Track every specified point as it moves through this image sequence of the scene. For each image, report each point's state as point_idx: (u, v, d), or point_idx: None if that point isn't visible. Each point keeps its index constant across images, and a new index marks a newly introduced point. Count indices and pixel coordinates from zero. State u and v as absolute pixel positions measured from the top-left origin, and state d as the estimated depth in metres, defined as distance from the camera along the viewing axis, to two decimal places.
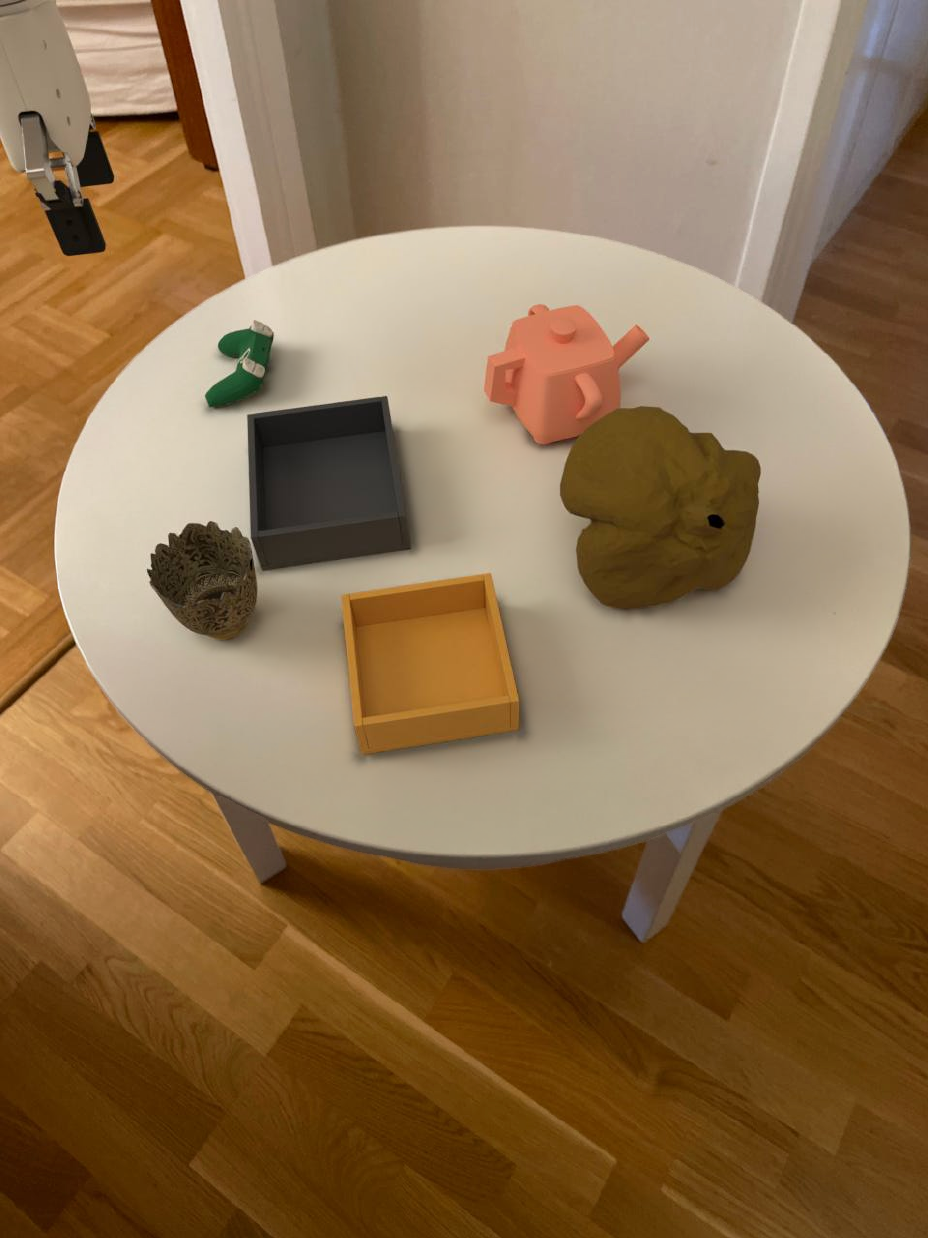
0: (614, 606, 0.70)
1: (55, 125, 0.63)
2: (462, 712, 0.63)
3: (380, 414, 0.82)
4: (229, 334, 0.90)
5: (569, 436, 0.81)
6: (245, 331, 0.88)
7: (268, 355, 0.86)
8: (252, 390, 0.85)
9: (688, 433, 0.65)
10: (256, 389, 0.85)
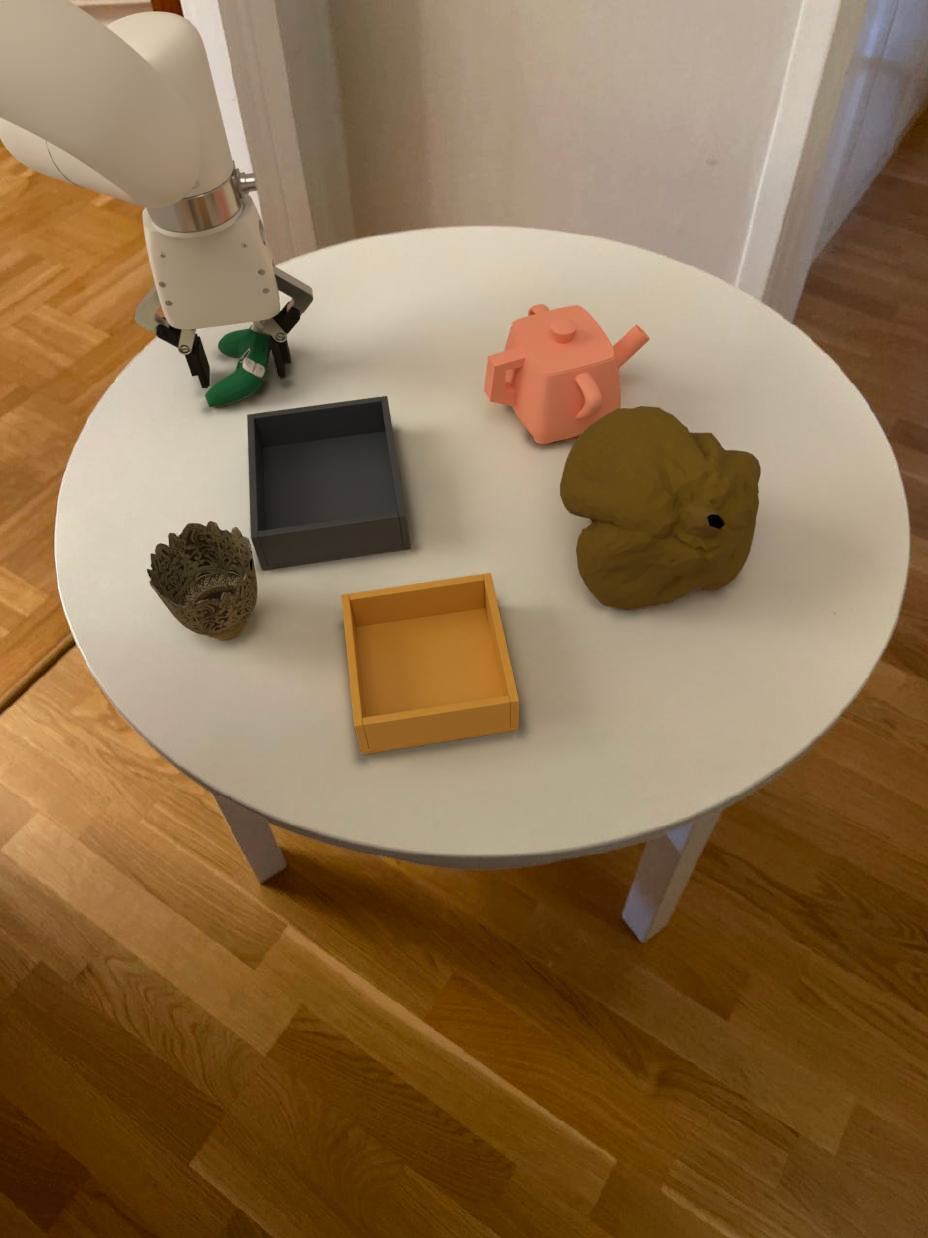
0: (614, 606, 0.70)
1: (158, 297, 0.79)
2: (462, 712, 0.63)
3: (380, 414, 0.82)
4: (229, 334, 0.90)
5: (569, 436, 0.81)
6: (245, 331, 0.88)
7: (268, 355, 0.86)
8: (252, 390, 0.85)
9: (688, 433, 0.65)
10: (256, 389, 0.85)
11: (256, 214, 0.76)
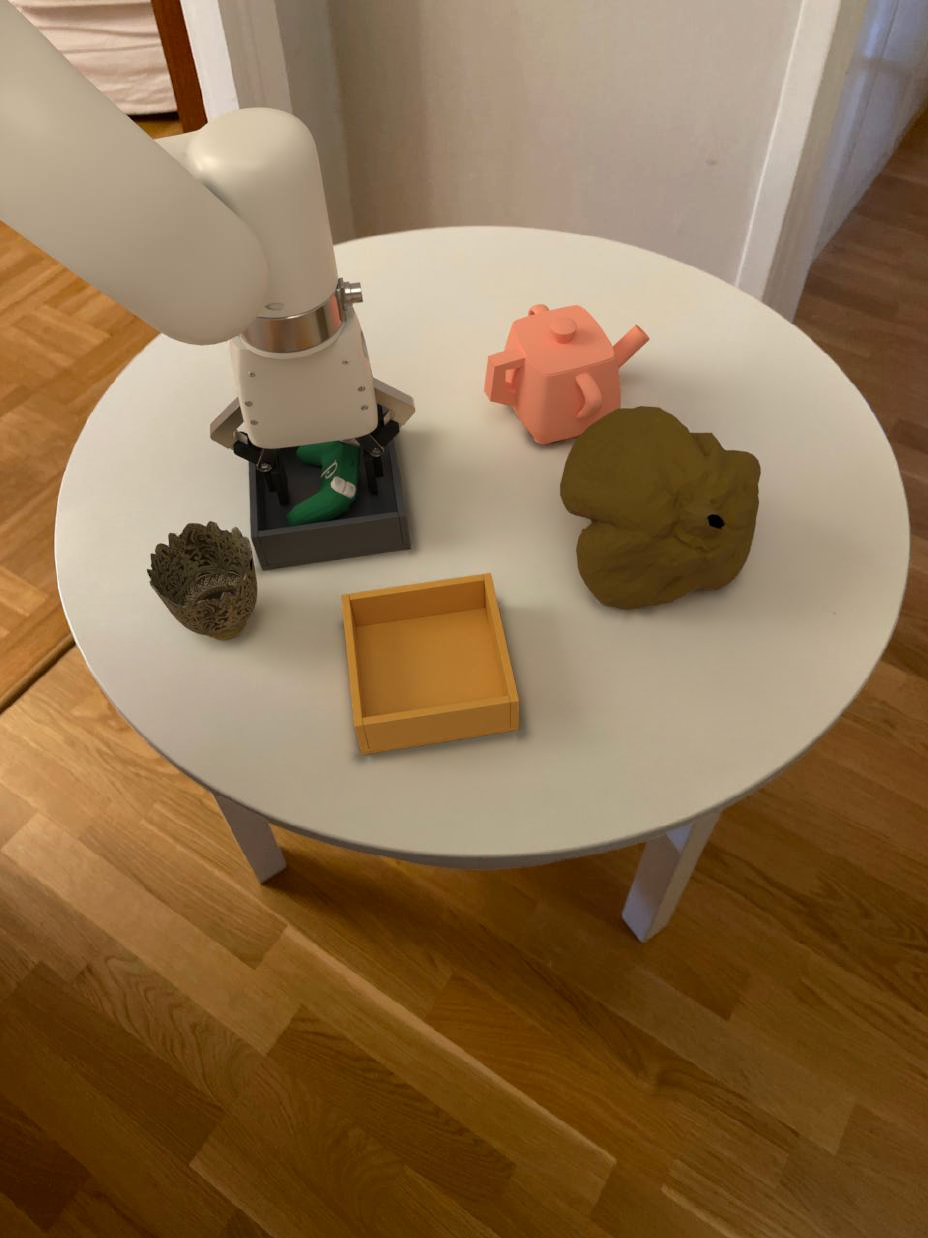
0: (614, 606, 0.70)
1: (242, 415, 0.69)
2: (462, 712, 0.63)
3: (380, 414, 0.82)
4: None
5: (569, 436, 0.81)
6: None
7: (357, 470, 0.77)
8: (341, 511, 0.75)
9: (688, 433, 0.65)
10: (345, 510, 0.76)
11: (358, 325, 0.67)
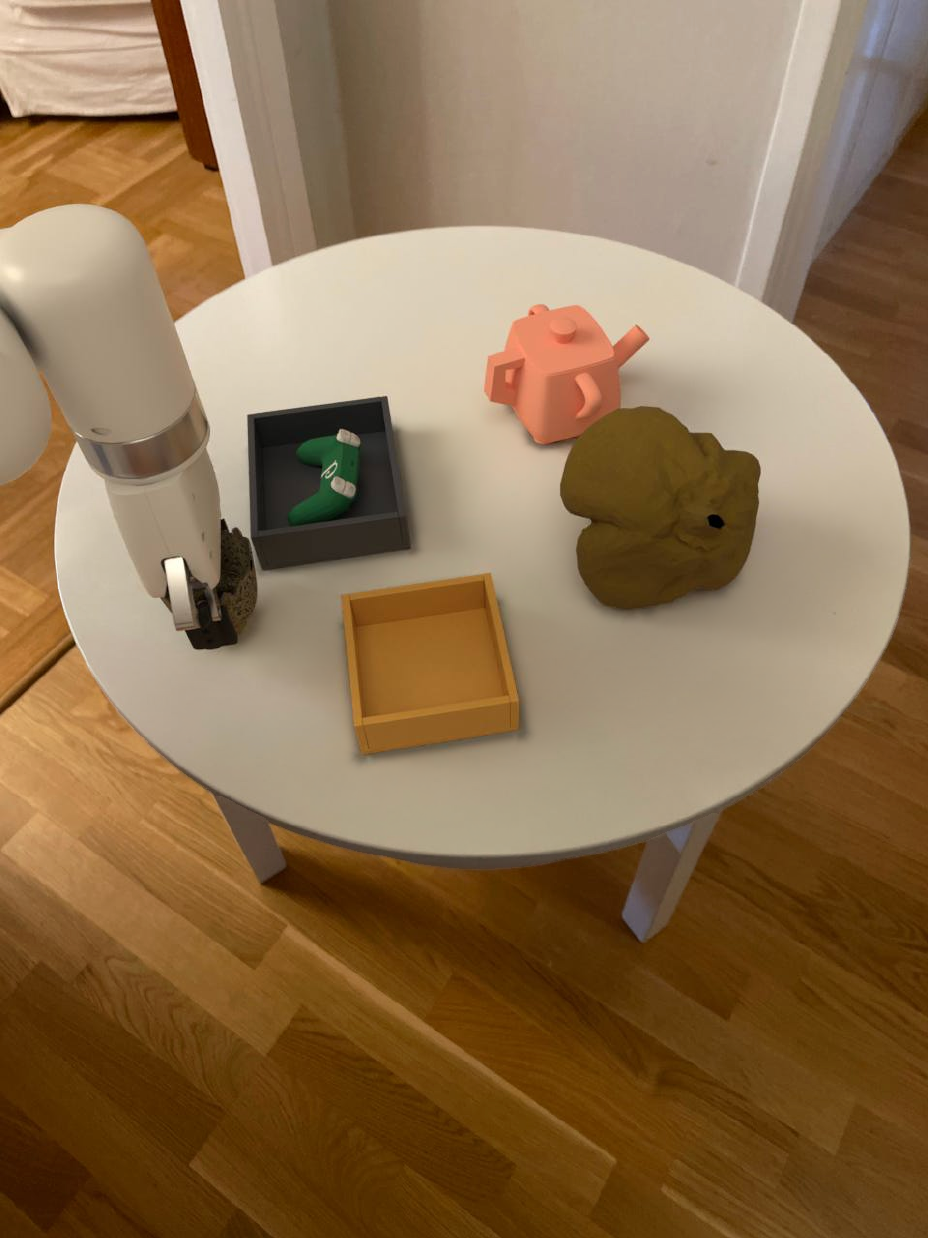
0: (614, 606, 0.70)
1: (198, 564, 0.59)
2: (462, 712, 0.63)
3: (380, 414, 0.82)
4: (310, 442, 0.80)
5: (569, 436, 0.81)
6: (329, 440, 0.78)
7: (358, 470, 0.77)
8: (341, 511, 0.75)
9: (688, 433, 0.65)
10: (345, 510, 0.76)
11: None
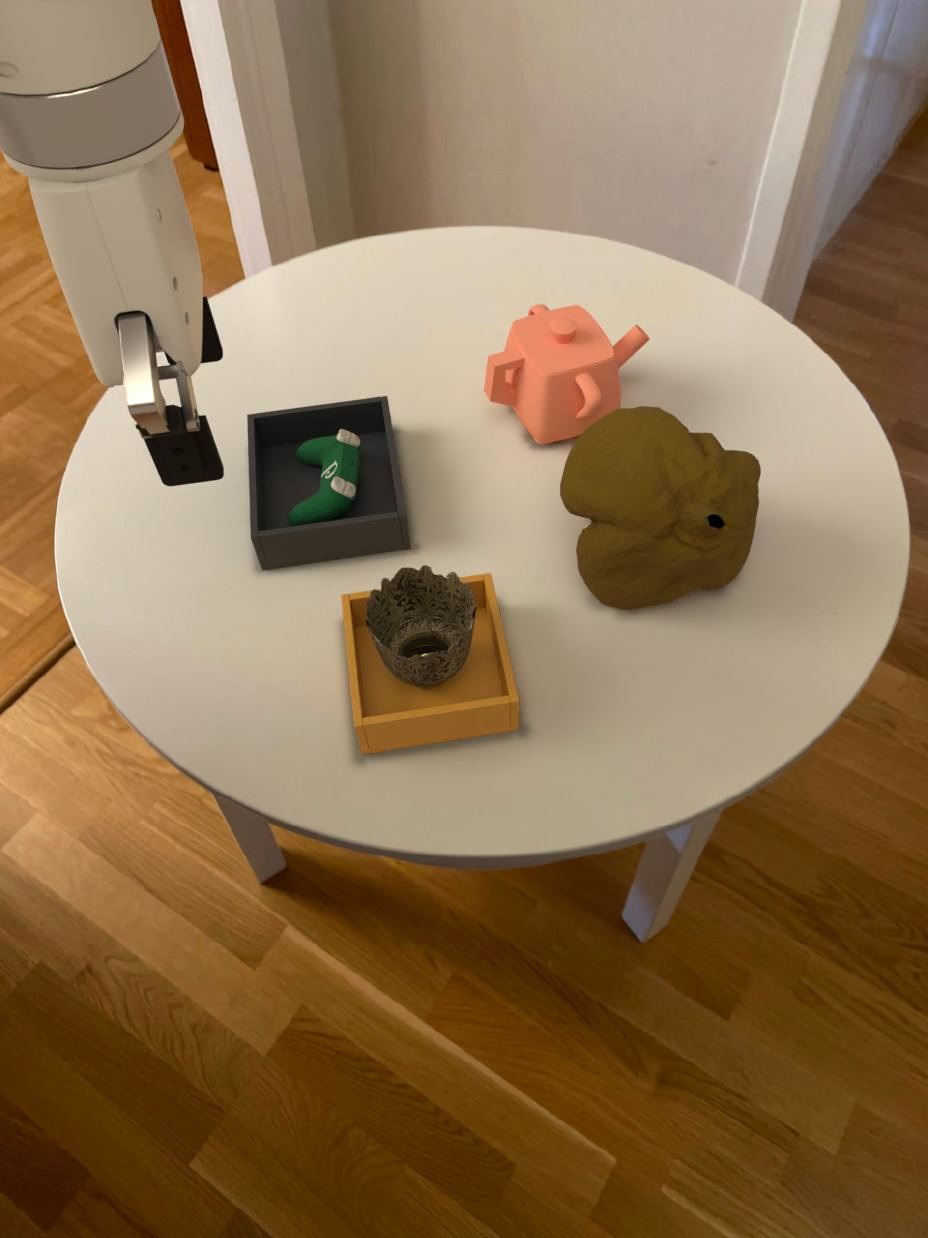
0: (614, 606, 0.70)
1: (168, 328, 0.41)
2: (462, 712, 0.63)
3: (380, 414, 0.82)
4: (310, 442, 0.80)
5: (569, 436, 0.81)
6: (329, 440, 0.78)
7: (358, 470, 0.77)
8: (341, 511, 0.75)
9: (688, 433, 0.65)
10: (345, 510, 0.76)
11: None
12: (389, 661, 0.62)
